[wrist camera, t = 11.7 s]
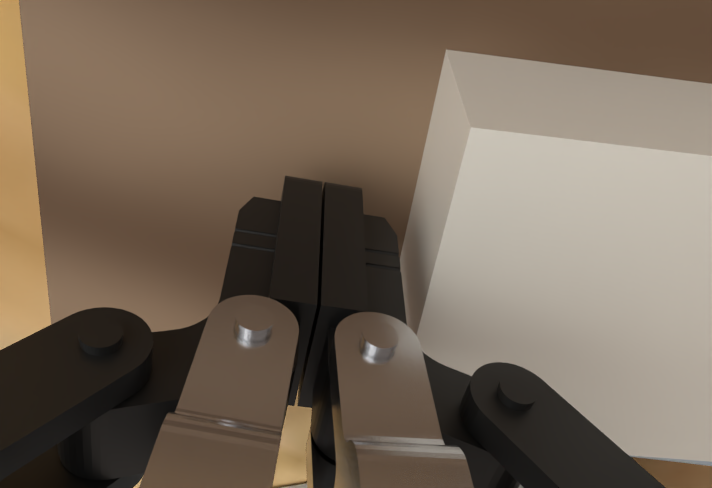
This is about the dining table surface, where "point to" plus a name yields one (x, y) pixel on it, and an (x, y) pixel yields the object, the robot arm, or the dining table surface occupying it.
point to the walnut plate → (268, 117)
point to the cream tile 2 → (571, 241)
